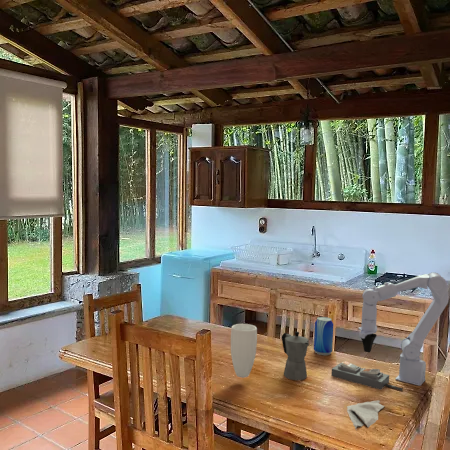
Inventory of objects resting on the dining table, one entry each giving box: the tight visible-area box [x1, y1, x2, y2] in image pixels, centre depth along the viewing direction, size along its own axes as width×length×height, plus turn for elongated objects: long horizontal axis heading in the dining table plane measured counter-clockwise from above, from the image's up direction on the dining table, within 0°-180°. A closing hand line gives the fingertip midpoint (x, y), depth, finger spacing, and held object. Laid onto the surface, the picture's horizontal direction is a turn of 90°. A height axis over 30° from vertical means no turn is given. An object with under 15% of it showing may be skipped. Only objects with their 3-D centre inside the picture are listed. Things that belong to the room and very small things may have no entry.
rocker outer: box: [341, 360, 359, 370], centre depth 186 cm, size 6×4×1 cm, turn 52°
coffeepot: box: [281, 331, 310, 381], centre depth 186 cm, size 15×9×18 cm, turn 33°
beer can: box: [313, 316, 334, 356], centre depth 214 cm, size 8×8×16 cm
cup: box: [230, 323, 258, 378], centre depth 176 cm, size 10×10×22 cm
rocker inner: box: [362, 368, 381, 374], centre depth 181 cm, size 6×4×1 cm, turn 53°
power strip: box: [331, 362, 404, 392], centre depth 182 cm, size 26×9×4 cm, turn 53°
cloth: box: [346, 400, 385, 431], centre depth 155 cm, size 26×14×2 cm, turn 134°
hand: (367, 351), depth 189 cm, fingers closed
